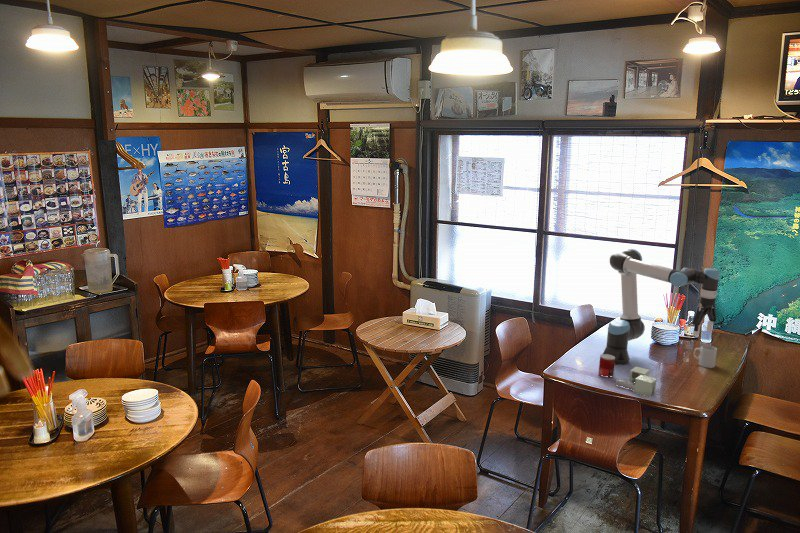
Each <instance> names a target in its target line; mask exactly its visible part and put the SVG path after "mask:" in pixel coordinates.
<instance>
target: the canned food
mask: <svg viewBox="0 0 800 533" xmlns="http://www.w3.org/2000/svg"><path fill="white" fill-rule="evenodd" d="M615 365H616V364H615V357H614V356H612V355H609V354H603V353H602V354H600V356H599V363H598V375H599V374H600V375H603V376H608V377H610V376H614V372H615ZM600 375H599V376H600Z"/></svg>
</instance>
